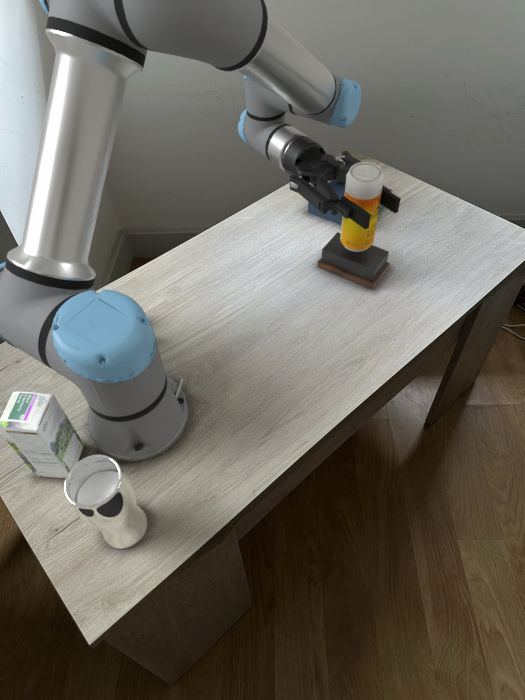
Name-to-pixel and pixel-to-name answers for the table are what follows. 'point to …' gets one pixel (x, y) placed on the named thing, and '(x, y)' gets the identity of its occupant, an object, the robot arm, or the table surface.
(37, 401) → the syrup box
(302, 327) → the table surface
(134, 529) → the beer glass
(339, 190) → the tray
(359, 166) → the beer can
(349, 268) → the sharpening stone
